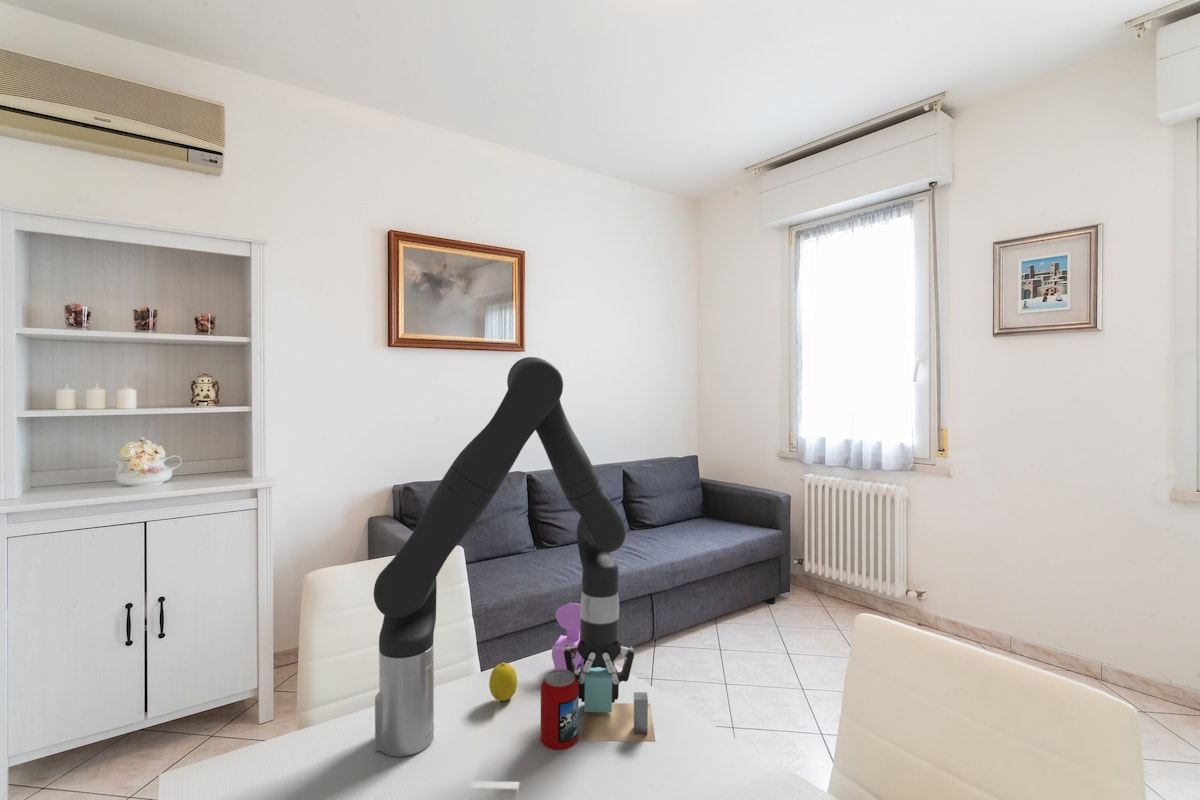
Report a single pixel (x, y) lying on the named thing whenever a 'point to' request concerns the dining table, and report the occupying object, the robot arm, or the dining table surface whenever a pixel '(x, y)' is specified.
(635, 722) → the post
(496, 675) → the lemon
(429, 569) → the robot arm
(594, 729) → the board
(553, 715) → the beverage can
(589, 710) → the aqua foam cube
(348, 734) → the dining table surface
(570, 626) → the toy chair
